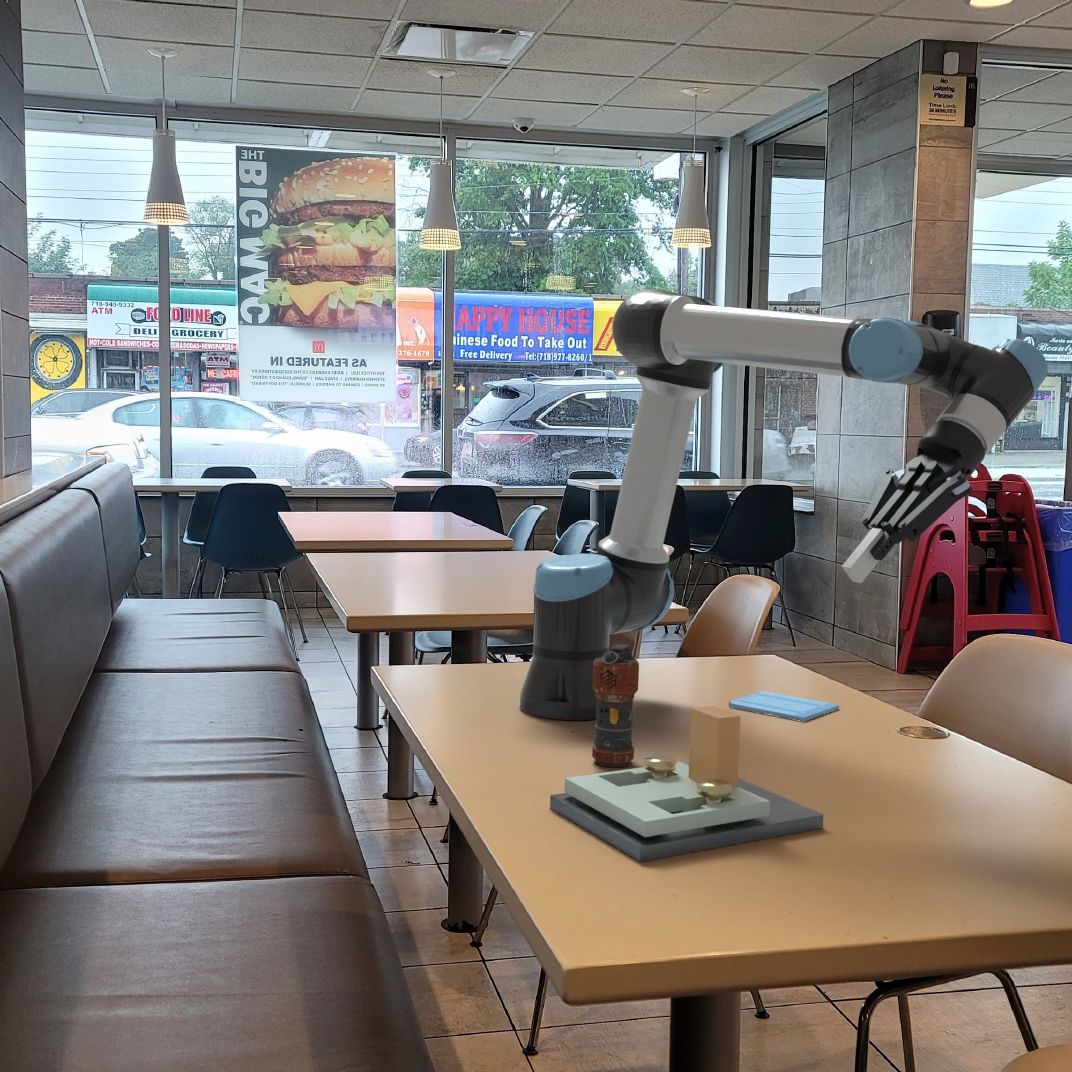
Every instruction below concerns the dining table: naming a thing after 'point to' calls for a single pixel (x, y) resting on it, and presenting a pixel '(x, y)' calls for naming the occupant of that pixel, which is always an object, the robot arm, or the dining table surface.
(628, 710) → the grenade
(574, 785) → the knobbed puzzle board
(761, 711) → the light blue flat panel
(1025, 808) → the dining table surface
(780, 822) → the mounting plate
